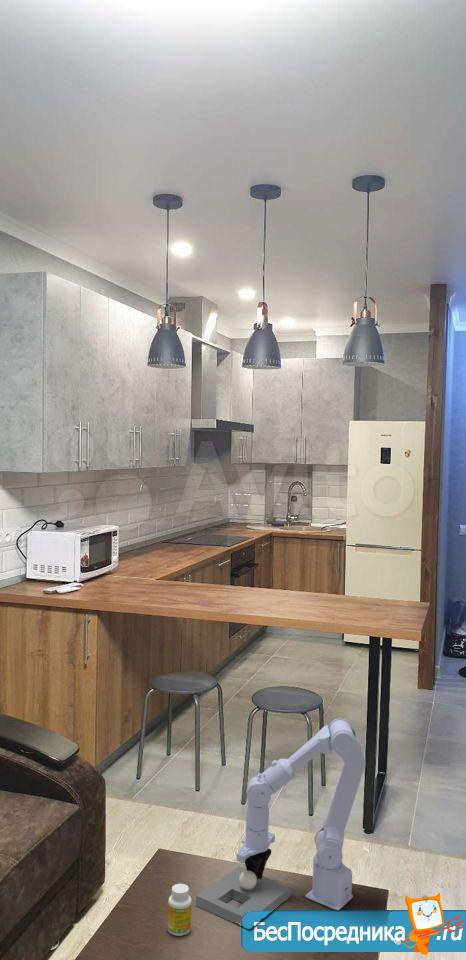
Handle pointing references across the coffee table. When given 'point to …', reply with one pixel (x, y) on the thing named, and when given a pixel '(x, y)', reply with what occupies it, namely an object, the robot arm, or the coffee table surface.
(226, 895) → the plate
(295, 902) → the coffee table surface
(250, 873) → the ball
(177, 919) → the supplement bottle
